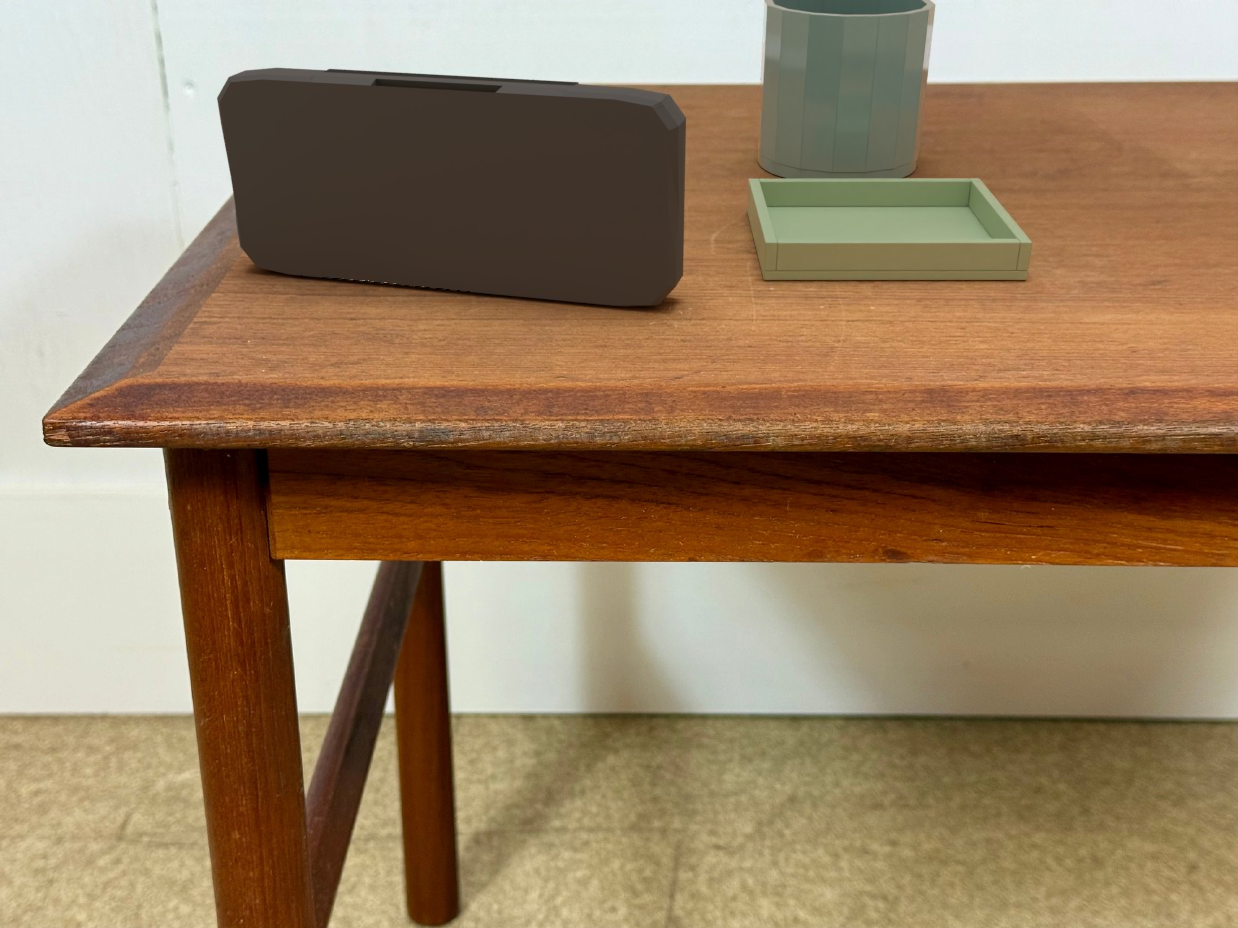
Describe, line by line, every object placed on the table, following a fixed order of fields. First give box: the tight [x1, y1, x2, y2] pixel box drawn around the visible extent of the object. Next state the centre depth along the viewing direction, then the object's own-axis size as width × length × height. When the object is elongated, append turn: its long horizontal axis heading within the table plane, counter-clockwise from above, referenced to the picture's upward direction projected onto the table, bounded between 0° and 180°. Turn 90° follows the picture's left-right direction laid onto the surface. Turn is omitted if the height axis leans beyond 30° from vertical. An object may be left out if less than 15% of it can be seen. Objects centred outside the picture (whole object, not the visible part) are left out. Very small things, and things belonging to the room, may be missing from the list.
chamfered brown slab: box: [216, 67, 687, 307], centre depth 61 cm, size 23×3×10 cm, turn 75°
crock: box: [757, 0, 936, 179], centre depth 80 cm, size 10×10×10 cm
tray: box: [746, 177, 1033, 281], centre depth 68 cm, size 13×11×2 cm
